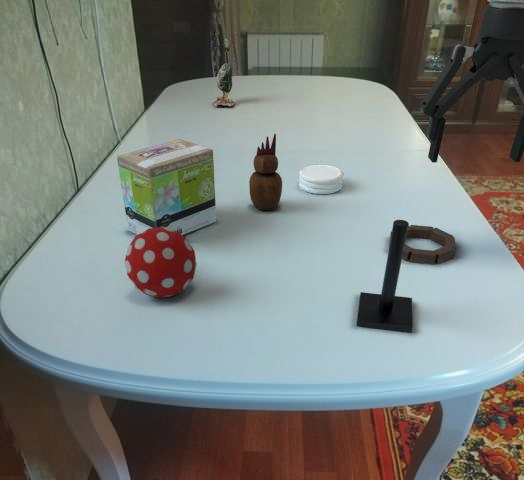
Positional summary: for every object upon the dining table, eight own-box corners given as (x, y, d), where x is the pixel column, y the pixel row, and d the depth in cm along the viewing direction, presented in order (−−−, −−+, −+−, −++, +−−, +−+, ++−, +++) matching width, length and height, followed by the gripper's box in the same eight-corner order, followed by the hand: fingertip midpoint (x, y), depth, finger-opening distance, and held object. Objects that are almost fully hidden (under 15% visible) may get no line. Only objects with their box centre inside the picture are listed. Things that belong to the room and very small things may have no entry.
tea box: (159, 248, 94) (148, 168, 85) (127, 231, 99) (113, 155, 90) (218, 222, 103) (214, 147, 93) (186, 208, 108) (178, 136, 99)
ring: (451, 237, 97) (453, 228, 96) (455, 266, 88) (458, 257, 87) (389, 231, 99) (391, 222, 98) (388, 260, 90) (390, 250, 89)
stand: (411, 302, 80) (430, 212, 70) (411, 332, 74) (433, 238, 64) (359, 297, 81) (372, 208, 72) (356, 326, 75) (369, 233, 66)
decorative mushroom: (138, 211, 86) (144, 215, 73) (197, 240, 90) (213, 249, 77) (112, 270, 88) (113, 285, 74) (171, 295, 92) (182, 314, 78)
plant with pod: (240, 101, 179) (238, 35, 166) (231, 109, 171) (228, 40, 158) (218, 99, 181) (214, 34, 168) (208, 107, 172) (203, 39, 159)
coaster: (345, 194, 113) (347, 178, 111) (301, 195, 113) (302, 180, 111) (337, 178, 121) (339, 163, 119) (296, 179, 121) (297, 164, 118)
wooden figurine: (283, 203, 110) (285, 130, 100) (278, 214, 105) (279, 139, 96) (253, 200, 111) (252, 128, 101) (247, 211, 107) (245, 137, 97)
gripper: (589, 1, 73) (539, 151, 86) (417, 2, 73) (393, 152, 86) (617, 7, 67) (559, 167, 81) (430, 7, 67) (403, 167, 81)
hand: (473, 159), depth 84 cm, fingers open, 13 cm apart
